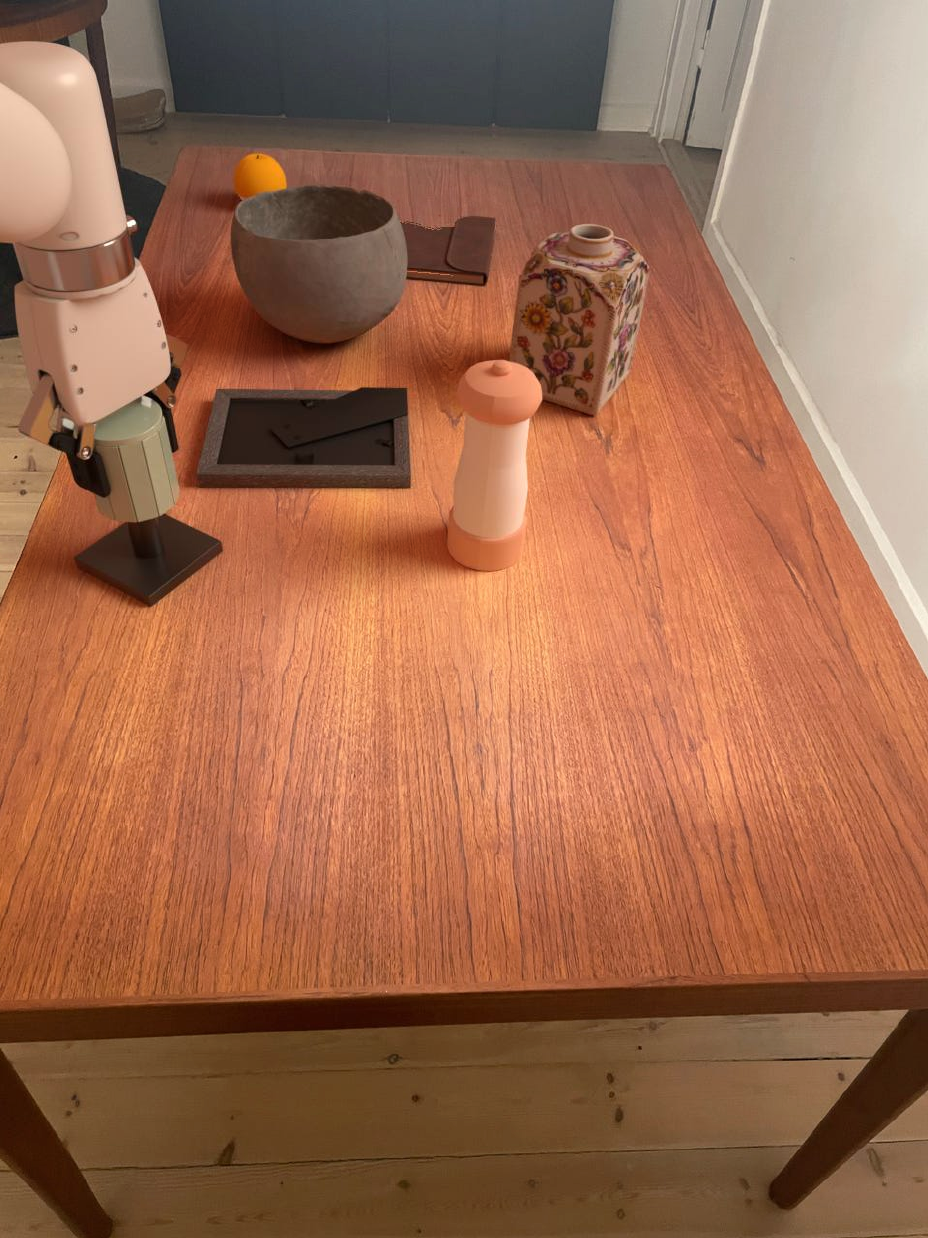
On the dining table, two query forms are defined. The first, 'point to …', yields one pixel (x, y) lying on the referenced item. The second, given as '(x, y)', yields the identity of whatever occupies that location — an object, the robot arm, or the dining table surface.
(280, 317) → the bowl
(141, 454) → the cup
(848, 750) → the dining table surface
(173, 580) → the cup stand
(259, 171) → the orange
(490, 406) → the pepper shaker
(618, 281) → the decorative jar
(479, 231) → the notebook
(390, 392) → the picture frame
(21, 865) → the dining table surface
